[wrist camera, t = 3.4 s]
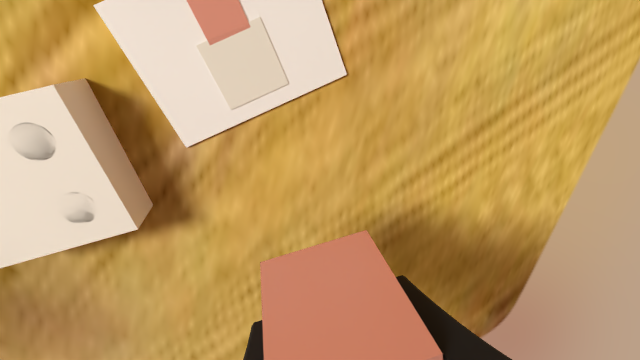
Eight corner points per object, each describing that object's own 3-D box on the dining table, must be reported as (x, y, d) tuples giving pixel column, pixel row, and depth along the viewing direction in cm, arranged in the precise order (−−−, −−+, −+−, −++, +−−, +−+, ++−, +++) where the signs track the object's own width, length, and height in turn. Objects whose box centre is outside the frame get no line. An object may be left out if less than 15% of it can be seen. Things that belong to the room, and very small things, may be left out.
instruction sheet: (346, 74, 14) (347, 74, 14) (186, 146, 14) (186, 148, 14) (292, -84, 11) (293, -85, 11) (94, 5, 11) (92, 5, 11)
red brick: (379, 305, 13) (455, 461, 8) (288, 335, 13) (311, 517, 8) (366, 229, 11) (453, 371, 6) (260, 262, 11) (266, 438, 6)
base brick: (155, 201, 15) (138, 229, 13) (28, 236, 14) (-13, 271, 12) (89, 77, 12) (53, 84, 10) (-68, 114, 12) (-143, 131, 10)
